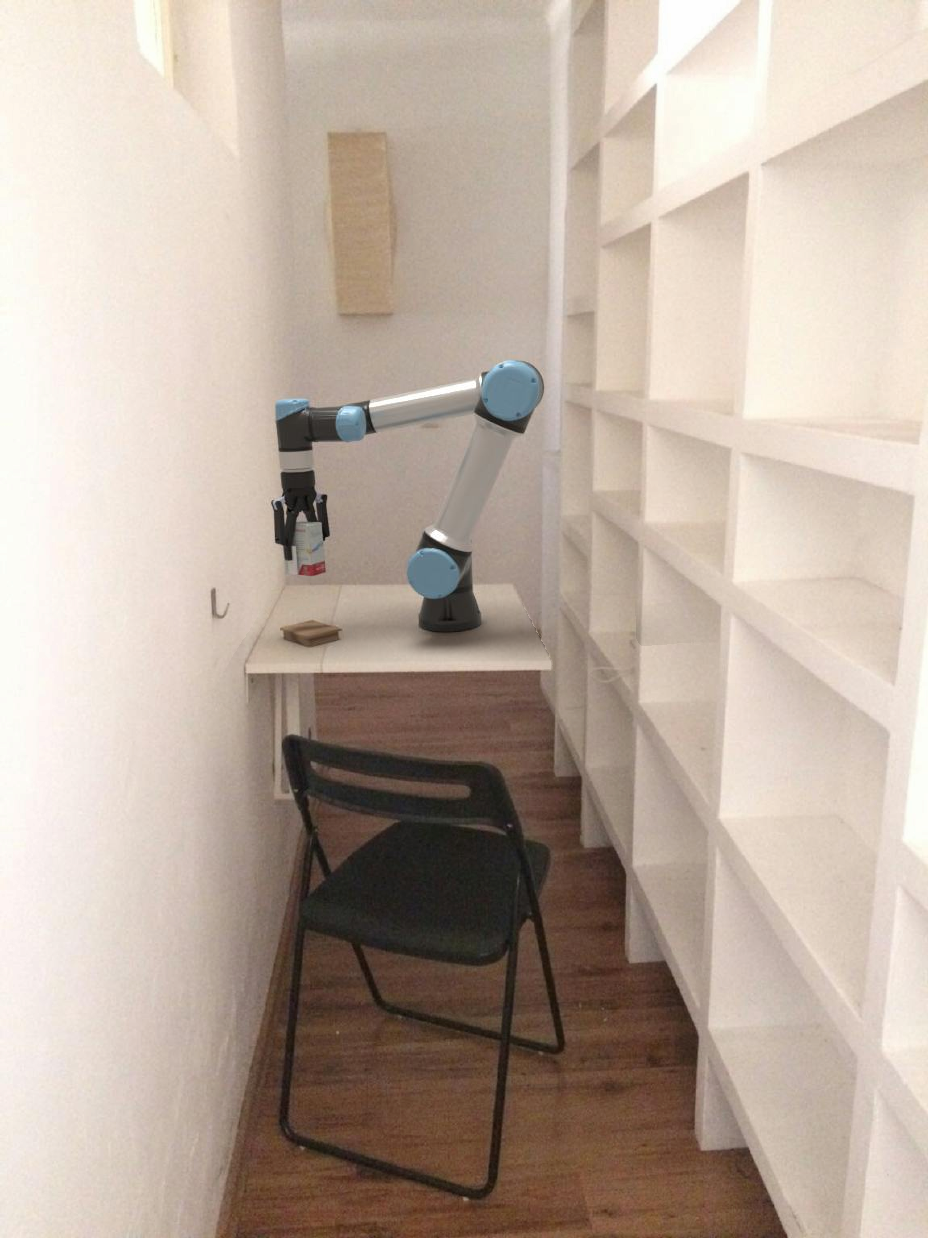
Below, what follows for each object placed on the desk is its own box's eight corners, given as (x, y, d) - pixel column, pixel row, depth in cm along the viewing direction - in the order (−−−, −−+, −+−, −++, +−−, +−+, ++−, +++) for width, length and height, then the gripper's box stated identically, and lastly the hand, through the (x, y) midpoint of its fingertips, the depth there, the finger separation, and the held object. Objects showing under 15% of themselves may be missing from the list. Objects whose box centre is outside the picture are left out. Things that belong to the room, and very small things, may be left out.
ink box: (326, 572, 221) (323, 521, 218) (312, 576, 217) (308, 524, 214) (298, 569, 226) (294, 519, 223) (284, 573, 222) (279, 522, 219)
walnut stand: (342, 639, 224) (341, 628, 223) (309, 647, 218) (308, 637, 218) (313, 630, 233) (312, 620, 232) (280, 638, 227) (279, 627, 226)
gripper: (322, 464, 224) (330, 562, 230) (251, 473, 212) (261, 576, 218) (341, 466, 219) (348, 566, 225) (269, 475, 207) (278, 581, 213)
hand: (305, 571), depth 221 cm, fingers closed on ink box, 6 cm apart
